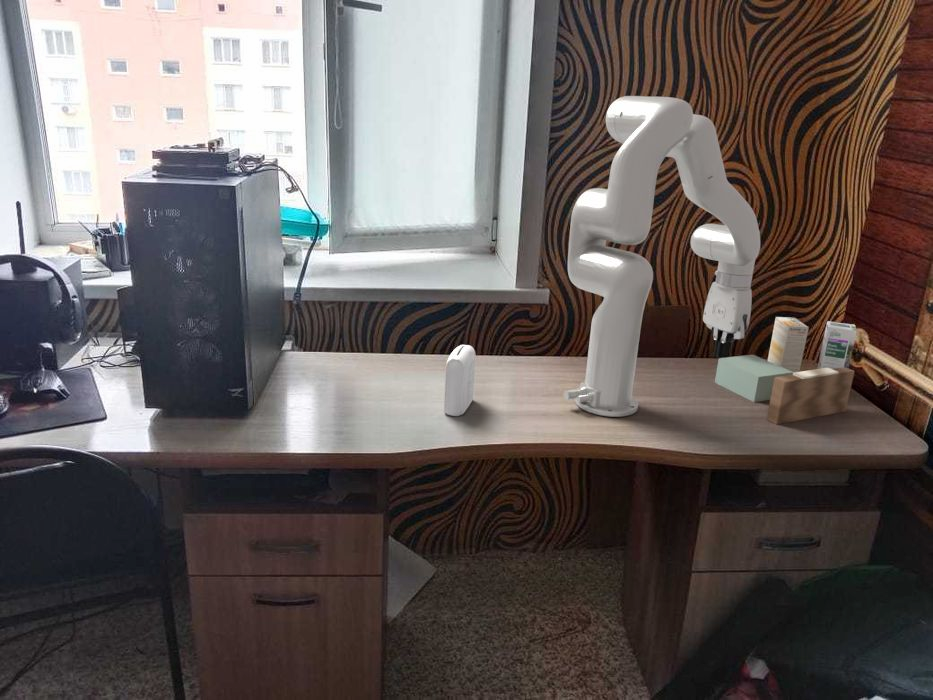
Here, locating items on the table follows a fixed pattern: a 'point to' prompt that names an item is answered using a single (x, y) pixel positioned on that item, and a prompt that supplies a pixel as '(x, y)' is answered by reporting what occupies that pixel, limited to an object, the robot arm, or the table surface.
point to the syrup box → (837, 345)
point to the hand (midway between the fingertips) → (720, 357)
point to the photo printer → (459, 380)
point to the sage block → (749, 376)
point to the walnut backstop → (809, 394)
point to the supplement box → (788, 343)
